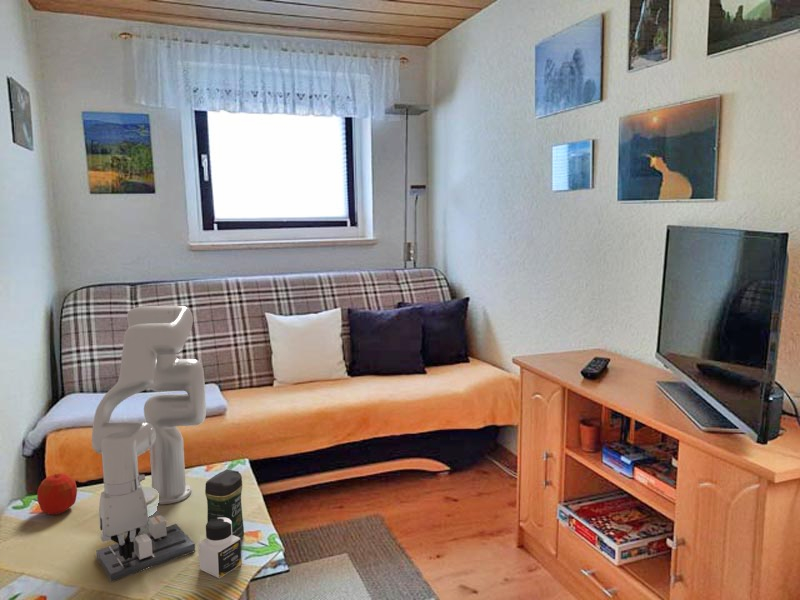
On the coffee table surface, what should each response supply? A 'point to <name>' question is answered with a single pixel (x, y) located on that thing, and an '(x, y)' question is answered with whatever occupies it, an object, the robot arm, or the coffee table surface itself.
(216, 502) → the coffee jar
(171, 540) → the console
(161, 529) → the fader
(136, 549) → the fader
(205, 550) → the medicine bottle
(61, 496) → the apple
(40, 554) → the coffee table surface
